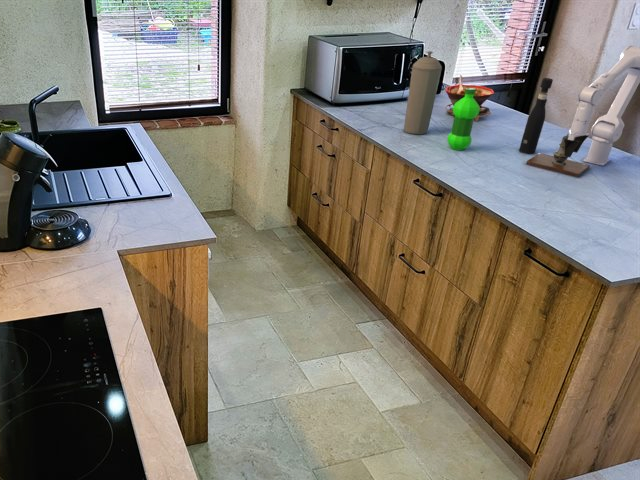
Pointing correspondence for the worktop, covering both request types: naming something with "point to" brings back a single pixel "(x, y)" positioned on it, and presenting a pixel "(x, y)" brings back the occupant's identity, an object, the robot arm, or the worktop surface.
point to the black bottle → (535, 120)
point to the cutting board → (568, 169)
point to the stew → (480, 97)
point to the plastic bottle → (463, 120)
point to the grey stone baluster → (560, 154)
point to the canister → (422, 94)
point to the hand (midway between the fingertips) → (570, 154)
